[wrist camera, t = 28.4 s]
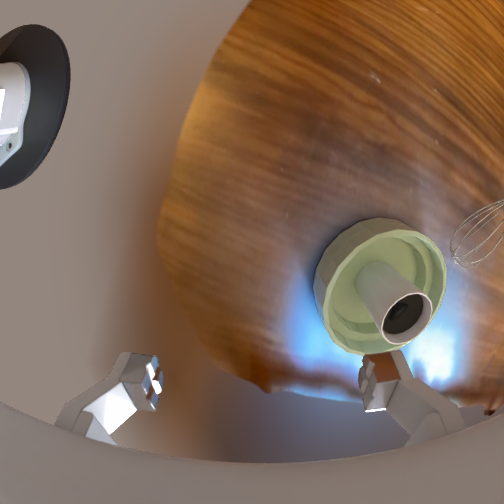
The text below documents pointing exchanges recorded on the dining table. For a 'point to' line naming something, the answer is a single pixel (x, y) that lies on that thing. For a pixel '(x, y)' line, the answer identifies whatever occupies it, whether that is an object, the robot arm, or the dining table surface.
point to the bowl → (353, 260)
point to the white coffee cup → (393, 302)
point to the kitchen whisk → (473, 233)
